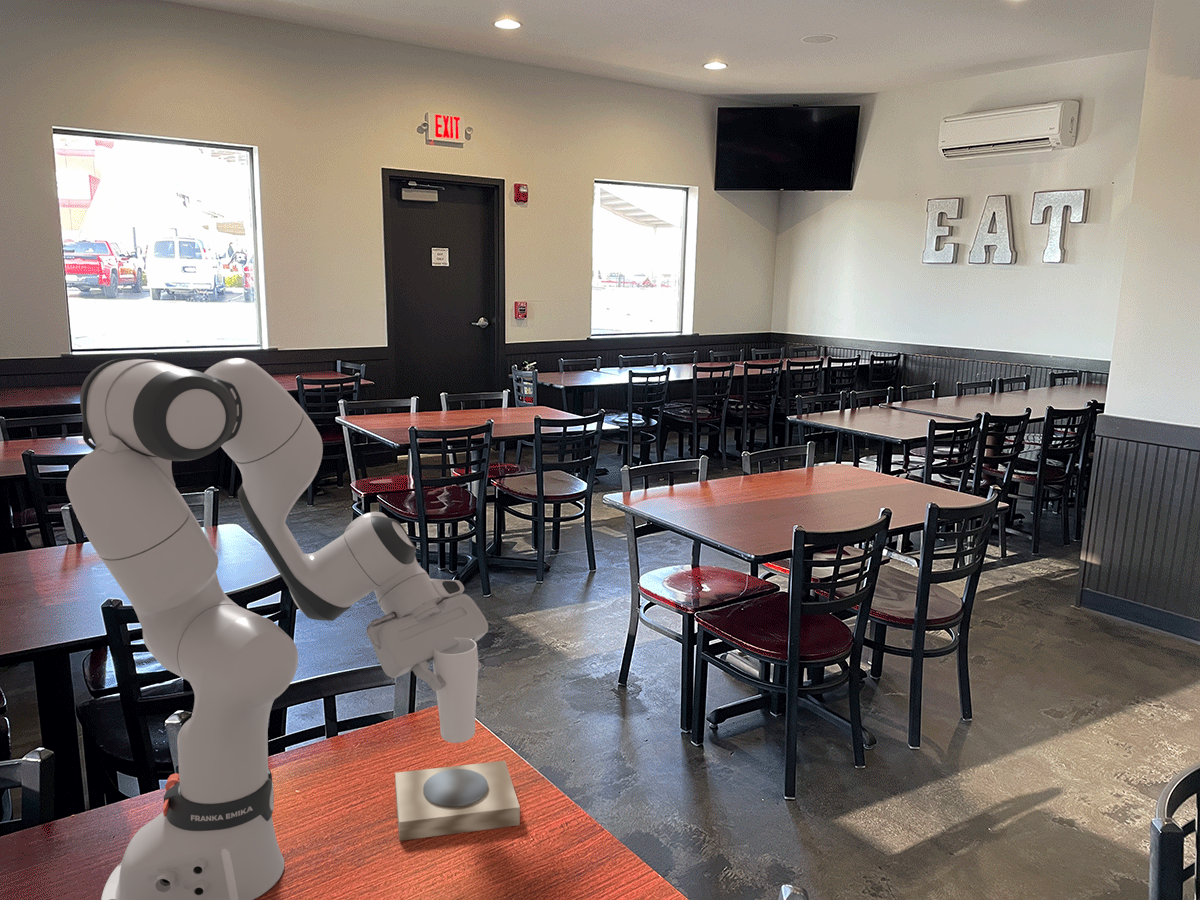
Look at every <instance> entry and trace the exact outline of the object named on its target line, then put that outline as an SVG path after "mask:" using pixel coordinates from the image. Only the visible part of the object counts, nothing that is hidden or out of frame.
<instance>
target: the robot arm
mask: <svg viewBox="0 0 1200 900" xmlns="http://www.w3.org/2000/svg"><path fill="white" fill-rule="evenodd" d="M81 385H82V386H81V388H80V392H79V393H80V395H79V404H80V405H79V407H80V413H81V416H82V440H83V442H84V444H86V445H87V446H88V447H89V448H90V449H91V450H93V451H91V452H89V453H88V454H86V455H85V456H83V457H82V458H80V459H79V460H78V462H77V463H75V465H74V466H73V467H72V468H71V469H70V471H69V473H68V475H67V478H66V481H65V482H66V483H65V487H66V488H65V489H66V492H67V493H66V494H67V496H68V499H69V501H70V504H71V507H72V510H73V512H74V513H75V515H76V519H77V521H78V522H79V524H80V527H81V528H82V530H83V532H84V534H85V536H86V537H87V539H88V541H89V543H90V544H91V546H92V547H93V549H94V550H95V552H96V554H97V555H98V557H99V558H100V560H101V561H102V562H103V564H104V565H105V566H106V569H107V570H108V571H109V572H110V574H111V576H112V577H113V578H114V580H115V581H116V583H117V584H118V586H119V587H120V588H121V590H122V592H123V594H125V596H126V598H127V599H128V601H129V602H130V604H131V605H132V608H133V609H134V611H135V614H136V616H137V619H138V621H139V624H140V627H141V629H142V638H143V639H142V640H143V643H144V645H145V646H146V648H147V650H148V651H149V653H150V654H151V655H152V656H153V658H154V659H155V660H156V661H157V662H158V663H159V664H160V665H161V666H162V667H163V668H164V669H166V670H167V671H169V672H170V673H173V674H175V675H177V676H178V677H180V678H182V679H184V680H185V681H187V682H188V683H189V684H190V686H191V688H192V690H193V694H194V702H193V709H192V713H191V717H190V718H188V720H187V721H185V722H184V723H183V725H181V727H180V729H179V730H178V733H177V739H176V742H177V743H176V744H177V745H176V747H177V762H178V763H177V764H178V773H176V772H175V773H172V774H170V775H168V776H169V777H168V778H167V780H166V783H165V786H164V789H165V793H164V794H163V795H164V796H163V805H162V812H161V813H159V815H157V816H155V818H152V819H151V820H150V821H149V822H147V823H146V824H144V825H143V826H142V827H140V829H139V830H138V831H136V832H135V834H134V835H133V837H132V838H131V839H130V841H129V843H128V845H127V847H126V849H125V851H124V854H123V856H122V860H121V862H120V863H119V864H117V865H116V867H115V868H114V870H113V871H112V872H111V874H109V877H108V878H107V880H106V881H105V882H106V883H105V885H104V887H103V890H102V894H101V897H100V900H255V899H257V898H259V897H261V896H262V895H263V894H266V892H268V891H269V890H270V889H271V888H272V887H274V886H275V885H276V883H277V882H278V881H279V880H280V878H282V877H281V876H282V875H283V873H284V870H285V858H284V857H283V855H282V853H281V849H280V847H279V844H278V841H277V836H276V830H275V827H274V821H273V813H274V809H275V804H274V803H275V802H274V801H275V797H274V796H275V794H274V791H275V790H274V782H273V775H272V771H271V769H270V768H269V749H268V748H269V745H268V743H269V741H268V739H269V737H268V731H269V730H268V729H269V719H270V715H271V714H270V713H271V711H272V706H273V703H274V702H275V700H276V699H277V698H279V697H280V696H282V694H283V693H284V692H285V691H286V690H287V689H288V688H289V687H290V684H291V683H292V681H293V680H294V679H295V678H294V677H295V675H296V673H297V671H298V670H297V669H298V665H299V653H298V652H299V651H298V649H297V648H298V647H297V645H296V643H295V642H294V640H293V639H292V638H291V637H290V636H289V634H287V633H286V632H285V631H284V630H283V629H282V628H281V627H280V626H279V625H277V624H276V623H275V622H274V621H273V620H271V619H269V618H267V617H265V616H263V615H260V614H257V613H255V612H253V611H250V610H249V609H246V608H244V607H242V606H239V605H238V604H237V603H236V602H234V601H233V600H232V599H231V598H230V597H229V596H227V594H226V593H225V592H224V590H223V589H222V586H221V585H220V581H219V577H218V575H217V570H218V567H219V557H218V553H217V552H216V550H215V548H214V546H213V545H212V543H211V542H210V540H209V538H208V537H207V534H205V531H204V530H203V529H202V527H201V525H200V524H199V521H198V520H197V518H196V516H195V515H194V513H193V512H192V510H191V508H190V507H189V505H188V503H187V502H186V500H185V499H184V497H183V496H182V494H181V493H180V492H179V490H178V489H177V487H176V485H177V484H176V482H175V480H174V476H173V469H172V462H185V461H186V462H188V461H193V460H194V461H195V460H197V459H202V458H203V457H204V458H205V456H208V455H210V454H212V453H213V452H215V451H216V450H218V449H219V448H220V447H221V448H222V450H223V451H224V452H225V453H226V454H227V456H228V457H229V458H230V459H231V460H232V461H233V462H234V463H235V465H236V466H237V468H238V469H239V471H240V474H241V479H242V483H241V485H240V486H239V488H238V490H237V498H238V501H239V505H240V507H241V510H242V512H243V515H244V517H245V518H246V519H245V520H247V522H248V524H249V526H250V528H251V529H252V530H253V533H254V535H255V536H256V538H257V539H258V541H259V543H260V544H261V546H262V547H263V549H264V551H265V552H266V554H267V556H268V557H269V559H270V560H271V562H272V563H273V564H274V567H275V568H276V570H277V571H278V573H279V574H280V576H281V577H282V579H283V581H284V582H285V584H286V586H287V587H288V590H289V593H290V595H291V598H292V600H293V602H294V604H295V605H296V607H297V608H298V610H300V612H301V613H302V614H303V615H305V617H307V618H308V619H310V620H315V621H325V622H326V621H327V622H331V621H332V622H333V621H335V620H337V619H338V618H339V617H340V616H342V614H344V613H346V612H347V611H348V610H349V609H351V607H352V606H353V605H354V604H356V603H357V602H359V601H360V600H362V599H363V598H365V597H366V596H368V595H369V594H371V593H372V592H374V594H375V597H376V598H375V599H376V602H377V604H378V605H379V607H380V609H381V610H382V612H383V614H384V615H383V616H381V617H379V618H374V619H372V620H370V621H369V624H368V625H367V628H366V636H367V638H368V639H369V641H370V643H371V644H372V646H373V651H374V653H375V655H376V658H377V660H378V662H379V664H380V666H381V668H382V670H383V673H384V674H385V675H386V676H387V677H390V678H392V679H396V678H398V677H400V676H403V675H405V674H407V673H410V672H413V673H414V675H415V677H417V678H418V679H419V680H422V681H423V682H425V683H427V684H428V686H429V688H430V689H431V691H432V692H434V693H436V691H438V690H440V689H442V688H443V687H444V686H445V685H446V682H445V681H444V680H443V678H442V677H441V676H440V675H438V676H437V675H435V674H434V671H432V670H430V669H429V668H430V664H429V663H431V662H432V663H433V656H434V647H435V649H436V650H437V651H438V652H441V653H442V652H444V651H447V650H449V649H451V648H453V647H455V646H457V645H459V642H458V641H457V640H456V639H455V637H462V638H468V639H471V640H473V641H475V642H476V643H477V642H478V641H479V640H480V639H482V637H484V636H485V635H486V634H487V633H488V632H489V623H488V621H487V619H486V617H485V616H484V614H483V613H482V610H481V609H480V608H479V606H478V605H477V603H476V602H475V601H474V599H472V598H471V597H470V596H469V595H468V594H465V593H463V592H464V591H465V587H464V584H463V582H461V581H460V580H457V579H439V578H431V577H430V575H429V574H428V572H427V571H426V570H425V569H424V568H422V566H421V565H420V564H419V562H418V560H417V558H416V552H417V547H416V546H415V544H414V542H413V541H412V539H411V537H410V536H409V535H408V533H407V531H406V529H405V527H404V526H403V525H402V523H401V522H399V520H397V519H396V518H395V519H394V518H391V517H388V516H387V515H386V514H385V513H383V512H380V511H372V512H371V511H370V512H366V513H364V514H361V515H359V516H358V517H356V518H355V519H353V520H352V521H351V522H349V524H348V525H347V527H346V528H345V530H344V533H343V534H341V535H339V536H338V537H336V538H335V539H334V540H332V541H331V542H329V543H327V544H326V545H325V546H323V547H321V548H320V549H318V550H317V551H314V552H312V553H304V551H303V550H302V548H301V547H300V545H299V544H298V541H297V540H296V538H295V537H294V535H293V533H292V531H291V530H290V529H289V527H288V525H287V523H286V520H287V518H288V515H289V513H290V511H291V509H293V507H294V505H295V504H296V502H297V501H298V500H299V498H300V497H301V495H303V493H304V492H305V491H306V490H307V489H308V487H309V486H311V483H312V482H313V481H314V479H315V477H316V476H317V474H318V471H319V468H320V466H321V463H322V459H323V452H324V450H323V449H324V444H323V440H322V436H321V434H320V432H319V431H318V429H317V427H316V425H315V423H314V422H313V421H312V420H311V418H310V417H309V415H308V414H307V413H306V411H305V410H304V409H303V408H302V406H301V405H300V404H299V403H298V401H296V400H295V398H294V397H293V396H292V394H290V392H288V391H287V389H286V388H284V387H283V386H282V385H281V384H280V383H279V382H278V381H277V380H276V379H275V378H274V377H273V376H272V375H270V374H269V372H267V371H266V370H265V369H263V368H262V367H261V366H259V365H258V364H257V363H256V362H254V361H252V360H250V359H247V358H241V357H234V358H233V357H232V358H227V359H224V360H220V361H219V362H217V363H215V364H213V365H211V366H210V367H208V368H207V369H206V370H205V371H204V372H201V371H198V370H195V369H191V368H190V369H189V368H185V367H181V366H178V365H175V364H173V363H170V362H166V361H162V360H156V359H155V360H154V359H142V358H138V357H137V358H136V357H120V358H116V359H112V360H108V361H106V362H104V363H102V364H100V365H98V366H97V367H95V368H94V369H93V370H91V371H90V373H89V374H88V375H87V376H86V377H85V379H84V380H83V383H82V384H81ZM90 440H91V441H90ZM92 442H93V443H92ZM480 669H482V664H481V662H480V660H479V659H478V671H479V670H480Z"/></svg>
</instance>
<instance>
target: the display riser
mask: <svg viewBox="0 0 1200 900" xmlns="http://www.w3.org/2000/svg"><path fill="white" fill-rule="evenodd" d="M509 771H510V770H509V768H508V765H507V761H506V760H499V761H489V762H480V763H472V764H471V763H470V764H463V765H462V764H461V765H453V766H452V765H451V766H444V767H435V768H427V769H417V770H407V771H399V772H398V771H397V772H394V775H395V776H394V777H395V779H394V784H395V785H394V787H395V788H394V789H395V802H396V814H397V825H398V827H397V828H398V841H399V842H400V841H407V840H408V841H409V840H417V839H423V838H429V837H430V838H431V837H438V836H439V837H440V836H445V835H446V836H447V835H454V834H455V835H456V834H461V833H471V832H478V831H485V830H493V829H501V828H508V827H516V826H521V824H520V823H521V822H520V821H521V806H520V804H519V803H520V802H519V799H518V797H517V794H516V791H515V787H514V784H513V781H512V778H511V775H510V772H509Z"/></svg>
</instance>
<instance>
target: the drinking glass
mask: <svg viewBox="0 0 1200 900" xmlns="http://www.w3.org/2000/svg"><path fill="white" fill-rule="evenodd" d="M455 639H456V640H457V641H458V642H459V645H457V646H455V647H453V648H451V649H449V650H447V651H444V652H442V653H441V652H438V651H437V650H436V649H435V647H434V656H433V661H432V664H433V665H432V668H433V673H434V674H435V675H437V676H438V675H440V676H441V677H442V678H443V680H444V681H445V682H446V685H445V686H444V687H443V688H442V689H440V690H438V691H436V692H435V693H436V700H437V709H438V716H439V726H440V727H439V728H440V729H439V730H440V737H441V739H442V740H444V741H446V742H448V743H451V744H459V743H464V742H467V741H469V740H471V739H472V738H473V737H474V736H475V733H476V711H477V710H476V709H477V693H478V678H479V676H478V675H479V670H478V660H479V653H478V644H477V641H476V642H475V641H473V640H471V639H468V638H462V637H455Z"/></svg>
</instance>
